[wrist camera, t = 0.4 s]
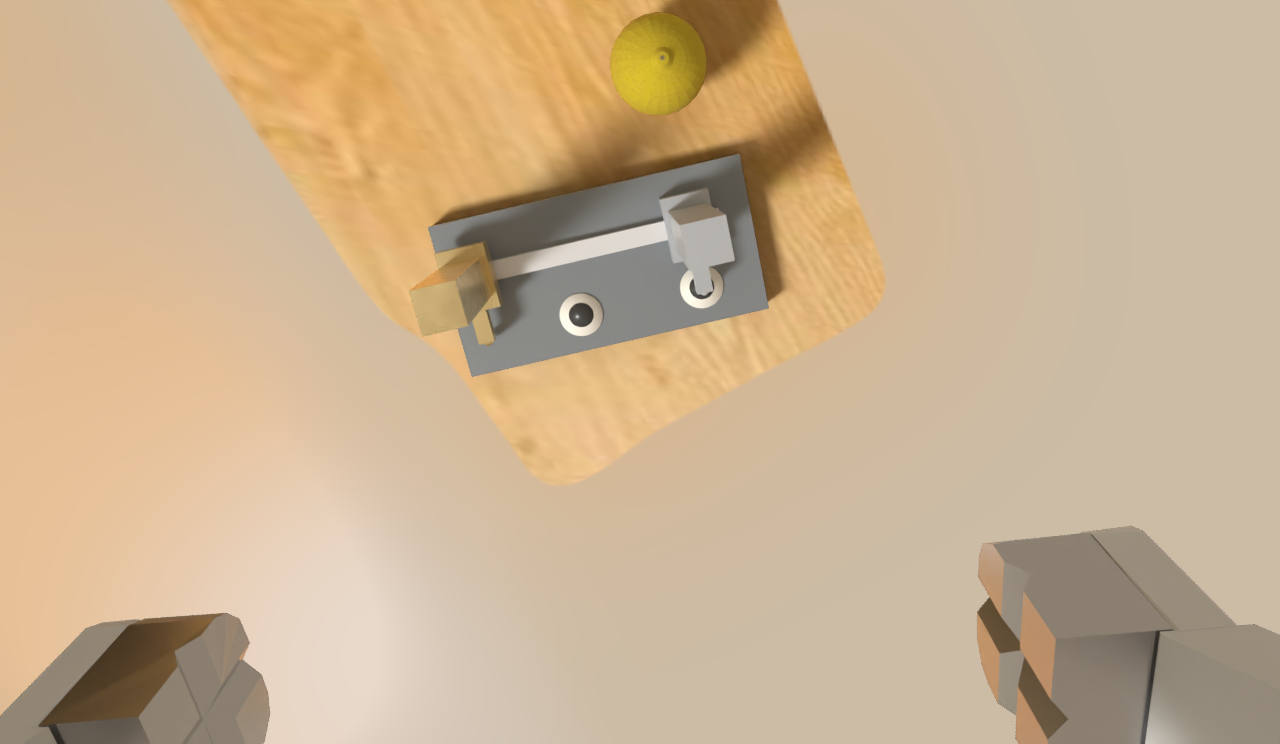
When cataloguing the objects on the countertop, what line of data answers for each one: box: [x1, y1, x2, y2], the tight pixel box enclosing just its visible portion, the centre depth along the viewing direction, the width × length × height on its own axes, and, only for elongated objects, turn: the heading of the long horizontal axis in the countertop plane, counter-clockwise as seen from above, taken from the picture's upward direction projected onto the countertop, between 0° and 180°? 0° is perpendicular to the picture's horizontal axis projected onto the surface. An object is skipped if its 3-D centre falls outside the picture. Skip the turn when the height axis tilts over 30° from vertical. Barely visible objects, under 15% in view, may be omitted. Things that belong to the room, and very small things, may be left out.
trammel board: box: [428, 154, 769, 377], centre depth 49 cm, size 10×20×12 cm, turn 103°
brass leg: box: [409, 240, 503, 346], centre depth 48 cm, size 6×3×11 cm, turn 13°
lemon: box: [610, 12, 707, 116], centre depth 48 cm, size 6×6×8 cm
